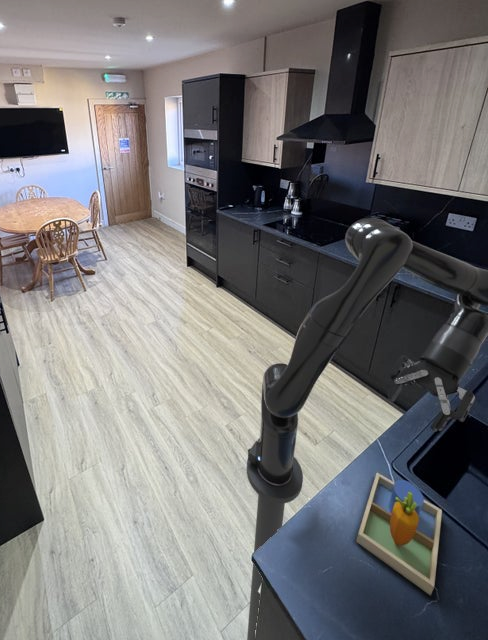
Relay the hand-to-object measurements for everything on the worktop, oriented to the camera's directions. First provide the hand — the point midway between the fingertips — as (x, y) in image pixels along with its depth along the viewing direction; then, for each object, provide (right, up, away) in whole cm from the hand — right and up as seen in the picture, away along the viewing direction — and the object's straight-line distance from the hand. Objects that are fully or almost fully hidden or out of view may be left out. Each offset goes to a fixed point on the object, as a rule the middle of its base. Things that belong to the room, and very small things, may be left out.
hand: (410, 414), depth 68 cm
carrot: (0, -32, +5) cm, 33 cm away
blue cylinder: (+5, -30, +11) cm, 32 cm away
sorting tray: (+3, -32, +8) cm, 33 cm away
